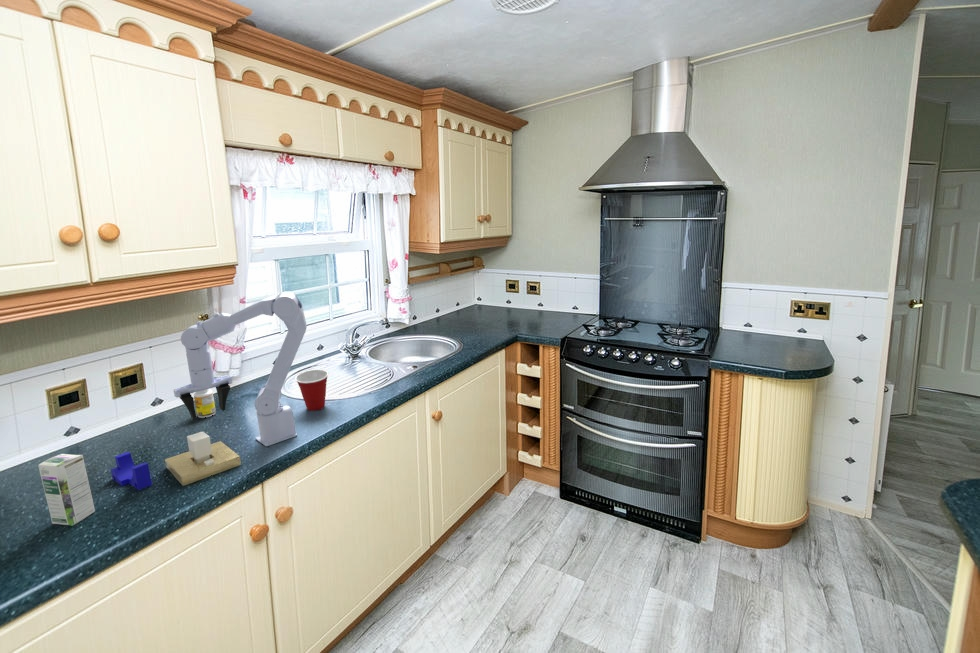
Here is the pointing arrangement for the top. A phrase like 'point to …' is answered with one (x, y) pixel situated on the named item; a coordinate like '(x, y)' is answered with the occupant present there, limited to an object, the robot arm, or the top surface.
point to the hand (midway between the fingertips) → (208, 413)
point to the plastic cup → (313, 388)
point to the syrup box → (66, 489)
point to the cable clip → (131, 472)
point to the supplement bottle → (204, 403)
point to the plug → (199, 446)
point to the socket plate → (202, 464)
